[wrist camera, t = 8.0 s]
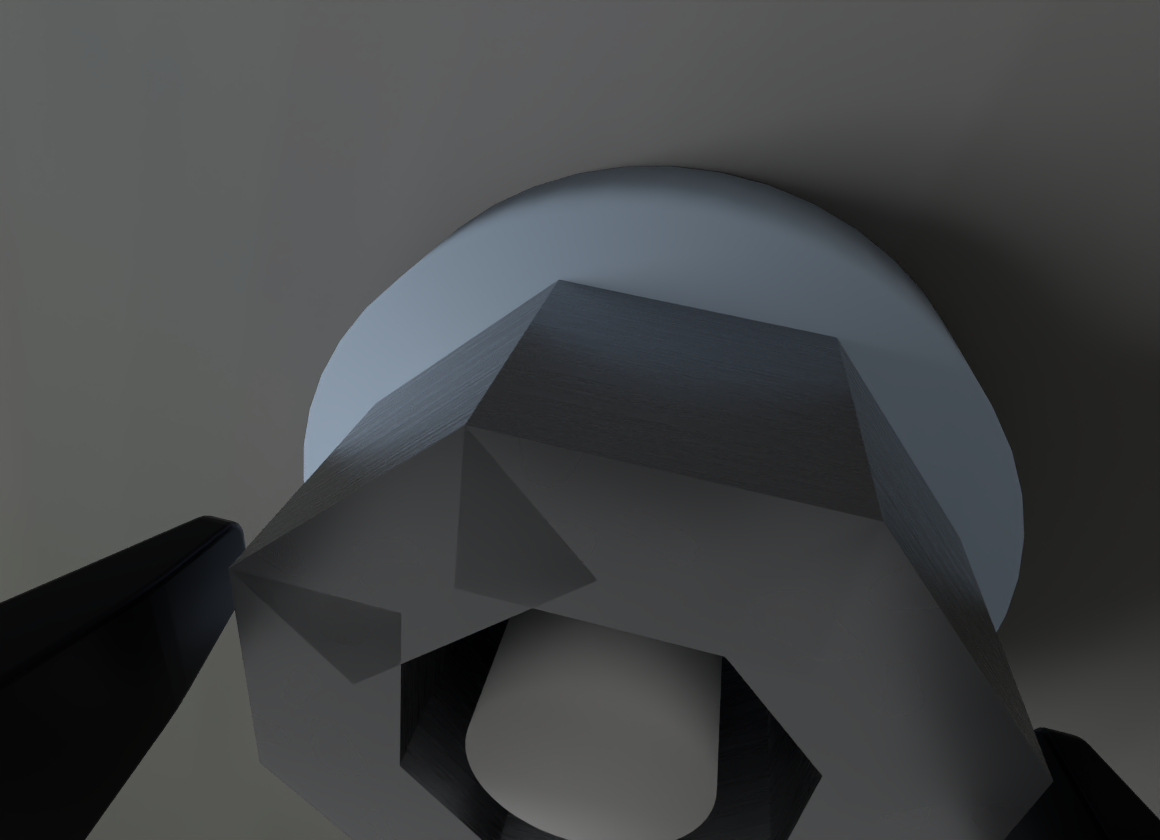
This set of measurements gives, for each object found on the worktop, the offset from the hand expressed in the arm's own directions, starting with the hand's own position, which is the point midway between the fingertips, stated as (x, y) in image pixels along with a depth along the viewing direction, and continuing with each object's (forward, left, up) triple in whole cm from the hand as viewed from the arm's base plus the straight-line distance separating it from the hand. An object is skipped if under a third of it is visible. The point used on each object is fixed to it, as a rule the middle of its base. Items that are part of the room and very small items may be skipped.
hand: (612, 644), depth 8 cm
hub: (0, 0, -3) cm, 3 cm away
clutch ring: (0, 0, -1) cm, 1 cm away
